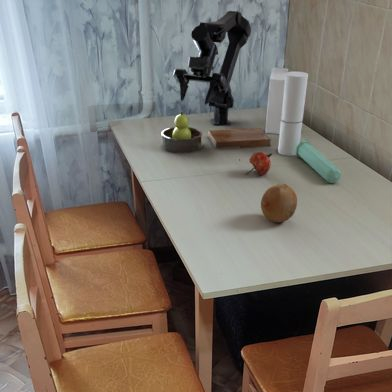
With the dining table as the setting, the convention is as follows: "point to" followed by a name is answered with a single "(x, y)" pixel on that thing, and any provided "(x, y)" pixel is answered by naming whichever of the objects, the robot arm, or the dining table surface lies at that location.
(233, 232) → the dining table surface
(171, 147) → the bowl
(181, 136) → the pear
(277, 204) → the onion
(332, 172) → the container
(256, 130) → the board
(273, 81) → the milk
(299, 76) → the cylindrical container
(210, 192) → the dining table surface
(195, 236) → the dining table surface
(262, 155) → the red rounded lumpy piece
